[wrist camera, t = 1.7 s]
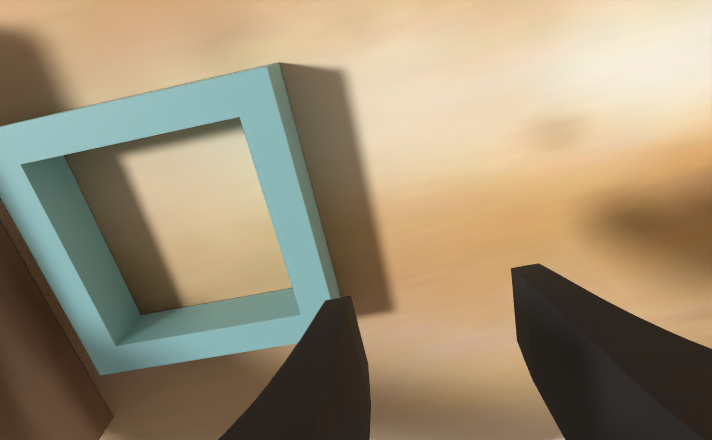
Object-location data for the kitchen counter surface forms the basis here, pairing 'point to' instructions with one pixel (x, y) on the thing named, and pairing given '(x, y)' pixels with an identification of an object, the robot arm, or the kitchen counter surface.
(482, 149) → the kitchen counter surface
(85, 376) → the backstop board
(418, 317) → the kitchen counter surface
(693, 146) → the kitchen counter surface
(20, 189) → the collar block
